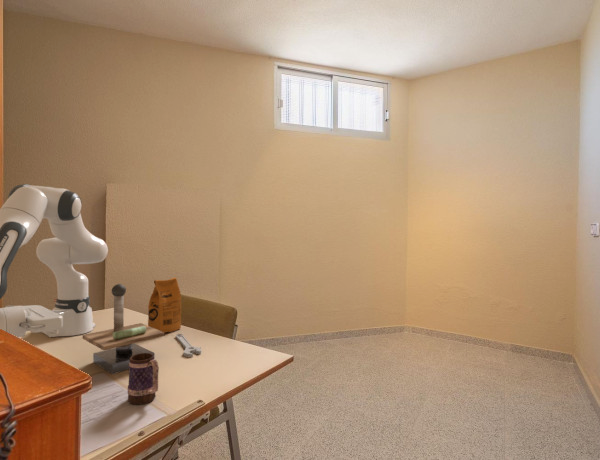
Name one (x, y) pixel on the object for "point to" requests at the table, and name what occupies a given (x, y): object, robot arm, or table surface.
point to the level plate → (110, 343)
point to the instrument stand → (118, 357)
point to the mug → (142, 378)
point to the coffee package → (165, 306)
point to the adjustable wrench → (188, 346)
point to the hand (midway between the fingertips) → (68, 313)
